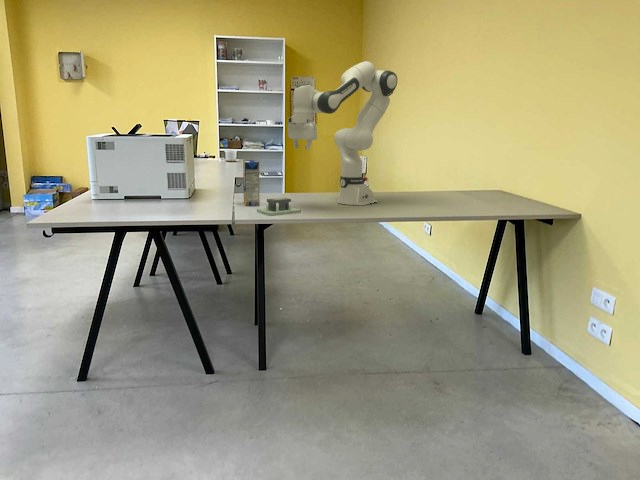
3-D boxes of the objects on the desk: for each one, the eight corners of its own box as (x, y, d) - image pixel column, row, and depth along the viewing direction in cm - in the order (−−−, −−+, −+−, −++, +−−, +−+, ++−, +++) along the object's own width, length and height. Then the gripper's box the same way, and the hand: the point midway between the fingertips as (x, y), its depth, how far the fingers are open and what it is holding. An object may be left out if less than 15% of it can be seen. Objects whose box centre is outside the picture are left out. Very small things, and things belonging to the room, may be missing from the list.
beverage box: (245, 206, 241) (245, 162, 236) (243, 202, 252) (243, 160, 246) (259, 206, 243) (259, 162, 238) (256, 202, 253) (256, 160, 248)
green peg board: (287, 208, 238) (287, 198, 237) (300, 212, 229) (300, 201, 228) (256, 211, 228) (256, 200, 227) (269, 216, 219) (269, 204, 218)
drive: (284, 207, 233) (284, 197, 232) (291, 209, 229) (291, 198, 228) (266, 209, 228) (266, 198, 226) (273, 211, 223) (273, 200, 222)
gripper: (320, 119, 223) (320, 150, 226) (296, 119, 239) (295, 147, 242) (309, 119, 219) (309, 150, 223) (285, 119, 235) (285, 147, 238)
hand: (302, 148), depth 232 cm, fingers open, 8 cm apart
